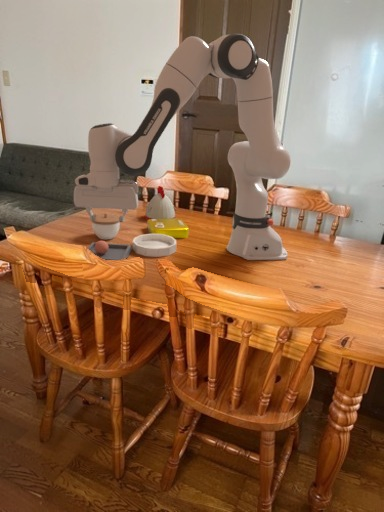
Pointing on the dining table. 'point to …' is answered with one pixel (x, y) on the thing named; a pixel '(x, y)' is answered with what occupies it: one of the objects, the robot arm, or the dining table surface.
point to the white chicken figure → (160, 207)
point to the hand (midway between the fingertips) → (107, 221)
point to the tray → (113, 251)
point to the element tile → (168, 227)
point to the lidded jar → (106, 226)
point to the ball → (101, 247)
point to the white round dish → (154, 245)
